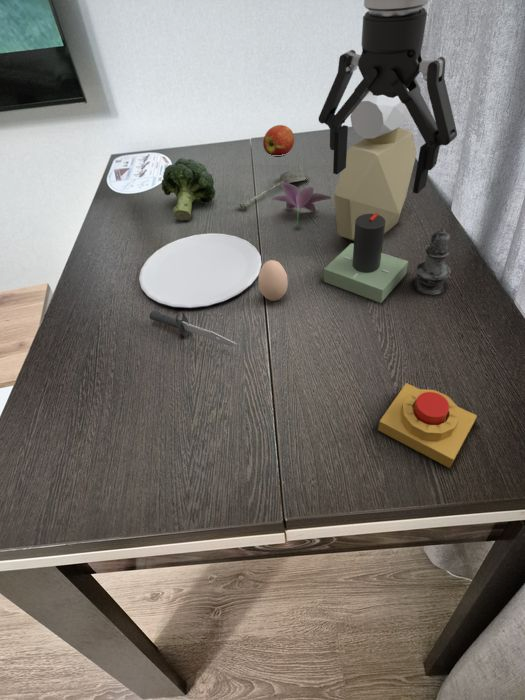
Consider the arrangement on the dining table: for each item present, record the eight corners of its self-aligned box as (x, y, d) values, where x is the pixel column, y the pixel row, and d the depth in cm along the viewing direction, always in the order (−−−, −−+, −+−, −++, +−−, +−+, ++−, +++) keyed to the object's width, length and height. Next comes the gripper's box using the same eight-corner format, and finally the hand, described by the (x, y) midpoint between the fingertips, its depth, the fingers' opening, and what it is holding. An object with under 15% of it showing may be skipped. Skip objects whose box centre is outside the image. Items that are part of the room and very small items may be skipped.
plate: (285, 254, 91) (285, 249, 90) (211, 328, 77) (210, 322, 76) (193, 227, 102) (192, 222, 101) (114, 287, 88) (112, 282, 87)
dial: (372, 275, 79) (377, 230, 72) (347, 267, 81) (350, 222, 74) (384, 261, 81) (390, 216, 74) (360, 254, 83) (364, 209, 77)
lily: (337, 225, 99) (336, 180, 96) (305, 228, 91) (304, 178, 88) (295, 227, 107) (293, 185, 104) (262, 230, 98) (260, 184, 96)
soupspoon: (313, 182, 113) (294, 177, 117) (312, 169, 111) (294, 164, 115) (250, 214, 103) (232, 207, 107) (248, 200, 101) (230, 193, 105)
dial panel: (406, 274, 83) (408, 260, 81) (381, 303, 78) (382, 289, 76) (350, 255, 89) (351, 242, 86) (323, 281, 84) (323, 268, 81)
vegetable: (146, 214, 104) (160, 161, 108) (192, 237, 111) (203, 188, 115) (170, 193, 94) (184, 137, 98) (218, 221, 102) (230, 167, 106)
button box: (473, 424, 59) (481, 407, 56) (449, 468, 55) (457, 452, 52) (403, 392, 64) (408, 374, 61) (377, 430, 60) (380, 413, 57)
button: (451, 408, 57) (454, 400, 56) (438, 430, 55) (441, 422, 54) (421, 395, 59) (424, 387, 58) (408, 415, 57) (410, 407, 56)
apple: (260, 157, 125) (257, 128, 119) (278, 147, 129) (276, 118, 124) (282, 163, 121) (280, 133, 116) (300, 152, 125) (299, 122, 120)
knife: (244, 350, 72) (239, 327, 68) (236, 359, 70) (230, 337, 67) (160, 320, 81) (152, 298, 77) (151, 327, 79) (142, 306, 76)
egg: (254, 300, 81) (249, 263, 76) (273, 286, 84) (269, 249, 78) (276, 311, 79) (272, 274, 73) (294, 296, 81) (292, 259, 75)
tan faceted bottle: (424, 214, 97) (453, 69, 77) (362, 266, 86) (376, 112, 66) (377, 199, 103) (392, 61, 83) (313, 246, 92) (313, 100, 72)
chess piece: (450, 294, 78) (467, 235, 69) (417, 297, 78) (429, 238, 70) (441, 274, 82) (455, 216, 73) (409, 277, 82) (420, 219, 74)
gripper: (514, 4, 49) (467, 187, 64) (324, 0, 61) (322, 155, 76) (491, 19, 45) (446, 209, 60) (292, 12, 57) (297, 172, 72)
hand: (377, 179), depth 68 cm, fingers open, 13 cm apart
